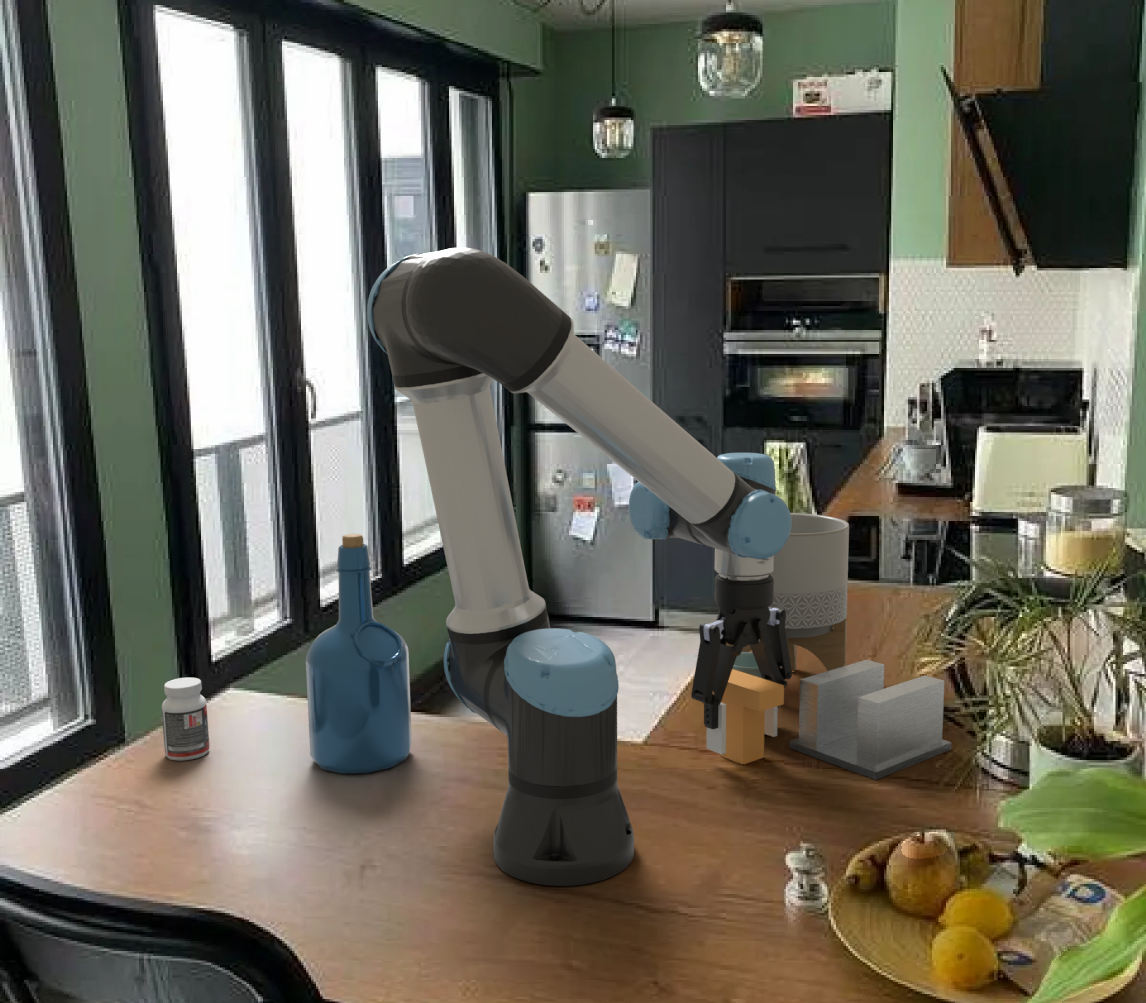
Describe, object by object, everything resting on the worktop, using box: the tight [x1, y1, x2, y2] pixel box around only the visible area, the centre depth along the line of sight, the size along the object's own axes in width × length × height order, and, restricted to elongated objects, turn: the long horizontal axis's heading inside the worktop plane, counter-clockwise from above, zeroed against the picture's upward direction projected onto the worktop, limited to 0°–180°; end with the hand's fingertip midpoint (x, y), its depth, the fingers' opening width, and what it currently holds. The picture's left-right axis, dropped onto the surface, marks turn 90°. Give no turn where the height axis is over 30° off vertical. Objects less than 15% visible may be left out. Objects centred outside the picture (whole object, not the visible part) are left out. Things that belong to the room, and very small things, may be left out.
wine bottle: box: [305, 533, 413, 775], centre depth 148 cm, size 14×13×30 cm
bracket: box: [788, 659, 952, 781], centre depth 150 cm, size 16×14×10 cm
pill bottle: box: [161, 677, 210, 762], centre depth 151 cm, size 6×6×10 cm
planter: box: [726, 512, 850, 672], centre depth 176 cm, size 19×19×26 cm
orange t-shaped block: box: [712, 669, 785, 765], centre depth 148 cm, size 4×10×10 cm, turn 38°
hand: (742, 742), depth 149 cm, fingers open, 9 cm apart
